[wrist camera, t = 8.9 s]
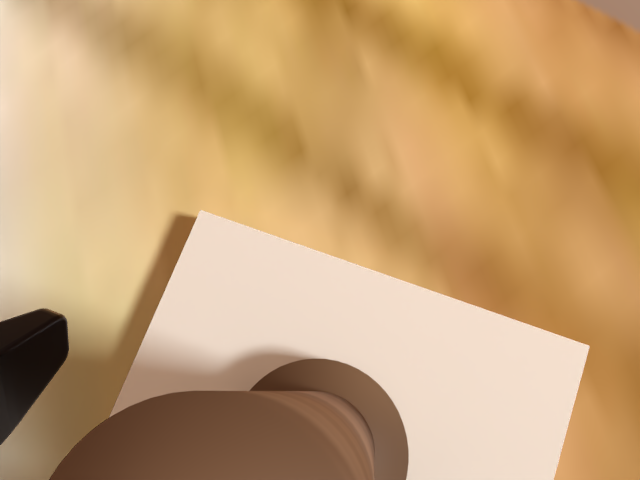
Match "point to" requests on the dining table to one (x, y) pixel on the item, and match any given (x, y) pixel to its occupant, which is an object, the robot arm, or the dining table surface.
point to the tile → (363, 350)
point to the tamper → (253, 432)
